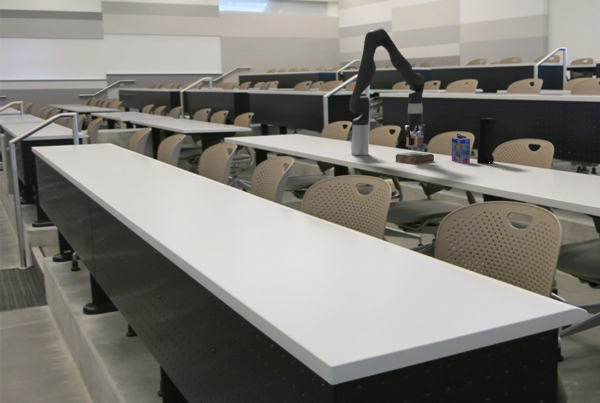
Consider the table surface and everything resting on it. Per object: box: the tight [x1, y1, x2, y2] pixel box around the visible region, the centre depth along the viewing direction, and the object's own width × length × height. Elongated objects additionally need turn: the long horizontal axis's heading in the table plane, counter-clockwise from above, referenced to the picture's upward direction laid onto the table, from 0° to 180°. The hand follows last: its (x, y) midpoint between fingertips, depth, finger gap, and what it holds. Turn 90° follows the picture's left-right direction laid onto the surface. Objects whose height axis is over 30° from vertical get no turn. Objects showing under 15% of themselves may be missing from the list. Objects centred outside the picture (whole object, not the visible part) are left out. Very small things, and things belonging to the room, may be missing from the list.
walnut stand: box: [395, 151, 435, 165], centre depth 336 cm, size 14×14×4 cm
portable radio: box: [476, 113, 496, 164], centre depth 324 cm, size 8×6×25 cm
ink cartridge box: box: [451, 133, 471, 164], centre depth 331 cm, size 10×6×14 cm, turn 17°
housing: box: [405, 134, 425, 148], centre depth 334 cm, size 5×8×6 cm, turn 37°
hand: (414, 145), depth 335 cm, fingers closed on housing, 5 cm apart
